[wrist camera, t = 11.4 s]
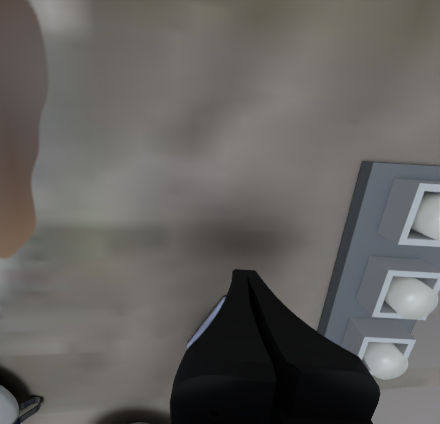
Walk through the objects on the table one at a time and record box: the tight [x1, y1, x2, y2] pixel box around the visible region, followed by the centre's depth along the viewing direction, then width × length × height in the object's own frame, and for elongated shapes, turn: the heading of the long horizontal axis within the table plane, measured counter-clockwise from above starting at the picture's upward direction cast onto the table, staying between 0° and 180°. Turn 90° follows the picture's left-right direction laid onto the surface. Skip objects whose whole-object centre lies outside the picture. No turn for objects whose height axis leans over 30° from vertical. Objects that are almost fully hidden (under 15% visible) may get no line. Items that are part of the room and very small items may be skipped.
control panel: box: [318, 161, 440, 377], centre depth 21 cm, size 24×10×4 cm, turn 177°
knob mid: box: [384, 276, 438, 319], centre depth 20 cm, size 4×4×4 cm
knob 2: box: [411, 191, 440, 241], centre depth 18 cm, size 4×4×4 cm
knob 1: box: [363, 342, 408, 379], centre depth 23 cm, size 4×4×4 cm
